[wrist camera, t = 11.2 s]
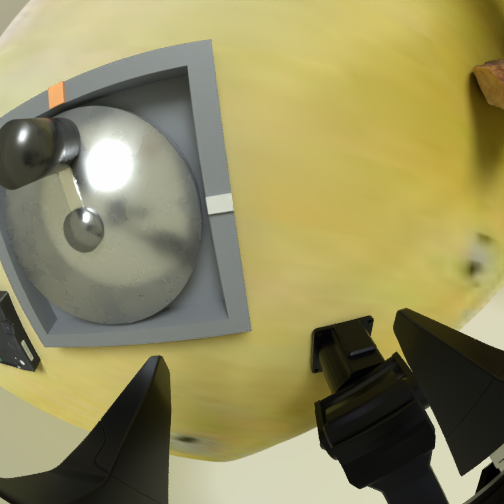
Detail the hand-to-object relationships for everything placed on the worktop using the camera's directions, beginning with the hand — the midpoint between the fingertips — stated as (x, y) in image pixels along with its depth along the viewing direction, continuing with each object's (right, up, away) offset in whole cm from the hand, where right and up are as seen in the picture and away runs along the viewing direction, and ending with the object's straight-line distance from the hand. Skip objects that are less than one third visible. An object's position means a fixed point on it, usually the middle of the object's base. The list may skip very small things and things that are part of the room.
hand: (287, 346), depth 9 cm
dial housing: (-13, +6, +9) cm, 17 cm away
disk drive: (-34, -5, +12) cm, 37 cm away
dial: (-13, +6, +8) cm, 16 cm away
